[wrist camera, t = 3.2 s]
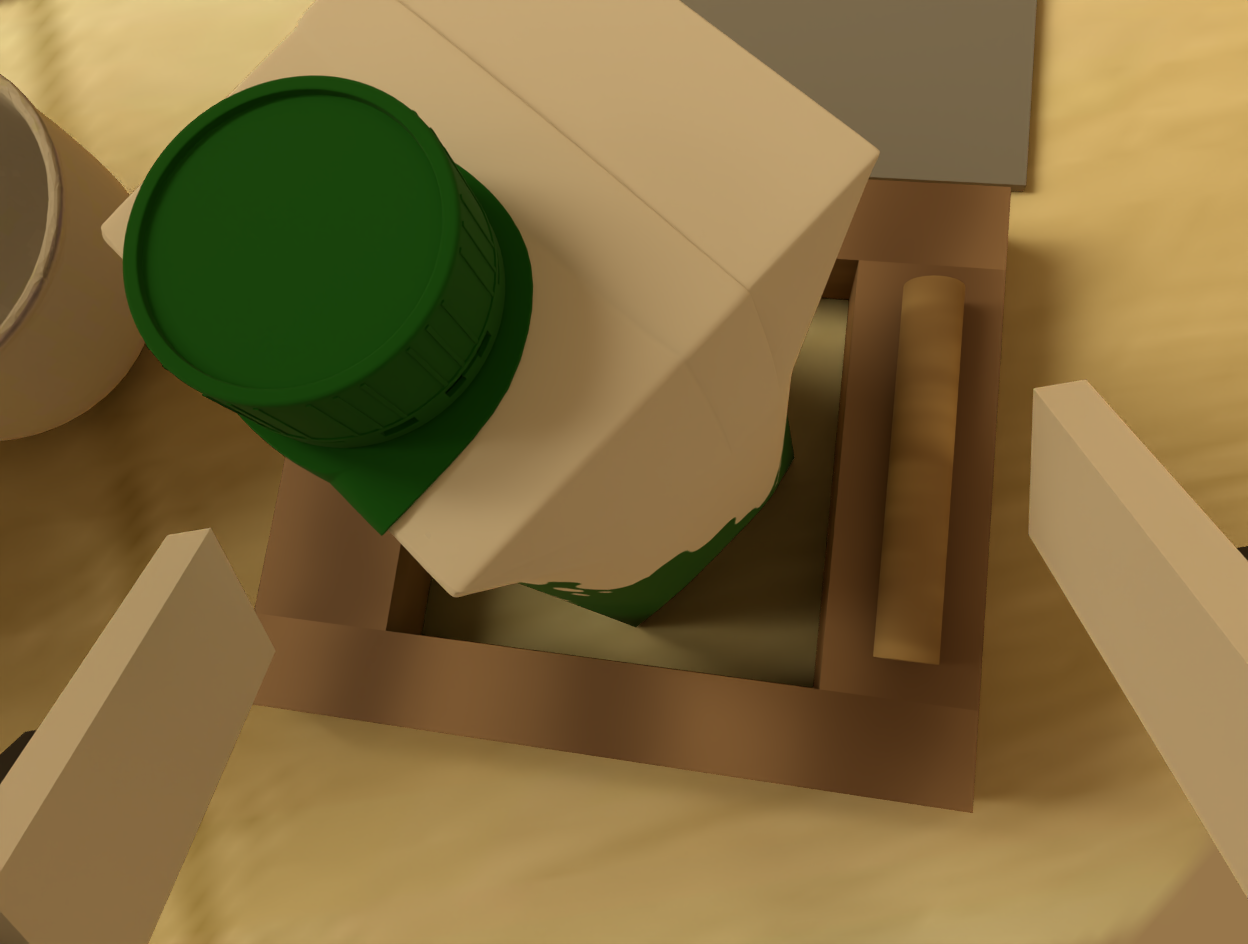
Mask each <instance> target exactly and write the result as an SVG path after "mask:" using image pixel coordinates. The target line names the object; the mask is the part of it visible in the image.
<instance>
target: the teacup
mask: <svg viewBox="0 0 1248 944" xmlns="http://www.w3.org/2000/svg"><path fill="white" fill-rule="evenodd" d="M129 196H130V195H129V194H128V193H127V191H126V190H125V189H124V187H123V186H122V185H121V184H120V182H119V181H118V180H117V179H116V178H115V177H114V176H113V175H112V174H111V173H110V172H109V171H108V170H107V169H106V168H105V167H104V166H103V165H102V164H101V163H100V162H99V161H98V160H97V159H96V158H95V157H94V156H92V155H91V154H90V153H89V152H88V151H87V150H86V149H84V148H83V147H82V146H81V145H80V144H79V143H78V142H76V141H75V140H74V139H73V138H72V137H71V136H69V135H68V134H67V133H66V132H65V131H64V130H62V129H61V128H60V127H59V126H58V125H57V124H55V123H54V122H53V121H51V120H50V119H49V118H48V117H46V116H45V115H44V114H43V113H41V112H40V111H39V110H38V109H36V108H35V106H34V105H33V104H32V103H31V102H30V101H29V100H28V98H27V97H26V96H25V95H24V94H23V93H22V92H21V91H20V90H19V89H18V88H17V87H16V86H15V85H14V84H13V83H12V82H11V81H9V80H8V79H6V78H5V77H4V76H2V75H1V74H0V441H3V440H13V439H19V438H23V437H28V436H32V435H36V434H40V433H43V432H45V431H48V430H51V429H54V428H56V427H59V426H61V425H63V424H66V423H67V422H69V421H71V420H73V419H75V418H76V417H78V416H80V415H82V414H83V413H85V412H86V411H88V410H89V409H90V408H92V407H93V406H94V405H96V404H97V403H98V402H100V401H101V400H102V399H103V398H105V397H106V396H107V395H108V394H109V393H110V392H111V391H112V390H113V389H114V388H115V387H116V386H117V385H118V384H119V383H120V381H121V380H122V379H123V378H124V377H125V376H126V374H127V373H128V371H129V370H130V368H131V367H132V365H133V364H134V362H135V361H136V359H137V358H138V356H139V354H140V352H141V350H142V348H143V346H144V344H145V341H144V340H143V338H142V336H141V335H140V333H139V331H138V329H137V327H136V325H135V323H134V320H133V317H132V315H131V312H130V309H129V306H128V302H127V298H126V293H125V288H124V280H123V259H122V258H121V257H120V256H119V255H118V254H117V253H116V252H115V251H114V250H113V249H112V248H111V247H110V246H109V245H108V244H107V243H106V241H105V240H104V238H103V236H102V230H101V225H102V224H103V223H104V222H105V221H106V220H107V219H108V218H109V217H110V216H111V215H112V214H113V213H114V212H115V211H116V209H117V208H118V207H119V206H120V205H121V204H122V203H123V202H124V201H125V200H126V199H127V198H128V197H129Z"/></svg>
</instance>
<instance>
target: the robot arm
mask: <svg viewBox="0 0 1248 944" xmlns="http://www.w3.org/2000/svg"><path fill="white" fill-rule="evenodd" d="M1028 535H1029V536H1030V538H1031V540H1032V541H1033V543H1034V545H1035V546H1036V548H1037V550H1038V551H1039V553H1040V555H1041V556H1042V558H1043V560H1044V561H1045V563H1046V565H1047V566H1048V568H1049V570H1050V571H1051V573H1052V575H1053V576H1054V578H1055V580H1056V581H1057V583H1058V584H1059V586H1060V588H1061V589H1062V591H1063V593H1064V594H1065V596H1066V598H1067V599H1068V601H1069V603H1070V604H1071V606H1072V608H1073V609H1074V611H1075V613H1076V614H1077V616H1078V618H1079V619H1080V621H1081V623H1082V624H1083V626H1084V628H1085V629H1086V631H1087V633H1088V634H1089V636H1090V638H1091V639H1092V641H1093V643H1094V644H1095V646H1096V648H1097V649H1098V651H1099V653H1100V654H1101V656H1102V658H1103V659H1104V661H1105V663H1106V664H1107V666H1108V668H1109V669H1110V671H1111V673H1112V674H1113V676H1114V678H1115V679H1116V681H1117V683H1118V684H1119V686H1120V688H1121V689H1122V691H1123V693H1124V694H1125V696H1126V698H1127V699H1128V701H1129V702H1130V704H1131V706H1132V707H1133V709H1134V711H1135V712H1136V714H1137V716H1138V717H1139V719H1140V721H1141V722H1142V724H1143V726H1144V727H1145V729H1146V731H1147V732H1148V734H1149V736H1150V737H1151V739H1152V741H1153V742H1154V744H1155V746H1156V747H1157V749H1158V751H1159V752H1160V754H1161V756H1162V757H1163V759H1164V761H1165V762H1166V764H1167V766H1168V767H1169V769H1170V771H1171V772H1172V774H1173V776H1174V777H1175V779H1176V781H1177V782H1178V784H1179V786H1180V787H1181V789H1182V791H1183V792H1184V794H1185V796H1186V797H1187V799H1188V801H1189V802H1190V804H1191V806H1192V807H1193V809H1194V811H1195V812H1196V814H1197V816H1198V817H1199V819H1200V821H1201V822H1202V824H1203V825H1204V827H1205V829H1206V830H1207V832H1208V834H1209V835H1210V837H1211V839H1212V840H1213V842H1214V844H1215V845H1216V847H1217V849H1218V850H1219V852H1220V854H1221V855H1222V857H1223V859H1224V860H1225V862H1226V864H1227V865H1228V867H1229V868H1230V870H1231V872H1232V874H1233V875H1234V877H1235V879H1236V880H1237V882H1238V884H1239V885H1240V887H1241V888H1242V890H1243V892H1244V894H1245V895H1246V897H1247V899H1248V546H1246V547H1240V548H1236V547H1235V546H1234V545H1233V544H1232V543H1231V542H1230V540H1229V539H1228V538H1227V537H1226V536H1225V535H1224V534H1223V533H1222V531H1221V530H1220V529H1219V528H1218V527H1217V526H1216V525H1215V524H1214V522H1213V521H1212V520H1211V519H1210V518H1209V517H1208V516H1207V515H1206V513H1205V512H1204V511H1203V510H1202V509H1201V508H1200V507H1199V506H1198V504H1197V503H1196V502H1195V501H1194V500H1193V499H1192V498H1191V497H1190V495H1189V494H1188V493H1187V492H1186V491H1185V490H1184V489H1183V488H1182V487H1181V485H1180V484H1179V483H1178V482H1177V481H1176V480H1175V479H1174V478H1173V476H1172V475H1171V474H1170V473H1169V472H1168V471H1167V470H1166V469H1165V467H1164V466H1163V465H1162V464H1161V463H1160V462H1159V461H1158V460H1157V458H1156V457H1155V456H1154V455H1153V454H1152V453H1151V452H1150V451H1149V449H1148V448H1147V447H1146V446H1145V445H1144V444H1143V443H1142V442H1141V440H1140V439H1139V438H1138V437H1137V436H1136V435H1135V434H1134V433H1133V432H1132V430H1131V429H1130V428H1129V427H1128V426H1127V425H1126V424H1125V423H1124V421H1123V420H1122V419H1121V418H1120V417H1119V416H1118V415H1117V414H1116V412H1115V411H1114V410H1113V409H1112V408H1111V407H1110V406H1109V405H1108V403H1107V402H1106V401H1105V400H1104V399H1103V398H1102V397H1101V396H1100V394H1099V393H1098V392H1097V391H1096V390H1095V389H1094V388H1093V387H1092V385H1091V384H1090V383H1089V382H1088V381H1087V380H1086V379H1085V380H1079V381H1073V382H1067V383H1061V384H1056V385H1050V386H1044V387H1038V388H1033V413H1032V443H1031V473H1030V502H1029V532H1028ZM274 653H275V649H274V647H273V645H272V643H271V641H270V639H269V637H268V635H267V633H266V631H265V630H264V628H263V626H262V624H261V622H260V620H259V618H258V616H257V614H256V612H255V610H254V609H253V607H252V605H251V603H250V601H249V599H248V597H247V595H246V593H245V591H244V590H243V588H242V586H241V584H240V582H239V580H238V578H237V576H236V574H235V572H234V570H233V569H232V567H231V565H230V563H229V561H228V559H227V557H226V555H225V553H224V551H223V549H222V548H221V546H220V544H219V542H218V540H217V538H216V536H215V534H214V532H213V530H212V529H211V528H206V529H200V530H194V531H188V532H182V533H176V534H170V535H167V536H166V538H165V539H164V541H163V542H162V544H161V545H160V547H159V548H158V550H157V551H156V553H155V554H154V556H153V557H152V559H151V560H150V562H149V563H148V565H147V566H146V568H145V569H144V571H143V572H142V574H141V575H140V576H139V578H138V579H137V581H136V582H135V584H134V585H133V587H132V588H131V590H130V591H129V593H128V594H127V596H126V597H125V599H124V600H123V602H122V603H121V605H120V606H119V608H118V609H117V611H116V612H115V614H114V615H113V617H112V618H111V620H110V621H109V623H108V624H107V626H106V627H105V629H104V630H103V632H102V633H101V635H100V636H99V638H98V639H97V641H96V642H95V644H94V645H93V647H92V648H91V650H90V651H89V653H88V654H87V656H86V657H85V659H84V660H83V662H82V663H81V665H80V666H79V668H78V669H77V671H76V672H75V674H74V675H73V677H72V678H71V680H70V681H69V683H68V684H67V686H66V687H65V688H64V690H63V691H62V693H61V694H60V696H59V697H58V699H57V700H56V702H55V703H54V705H53V706H52V708H51V709H50V711H49V712H48V714H47V715H46V717H45V718H44V720H43V721H42V723H41V724H40V726H39V727H38V729H37V730H34V731H27V732H24V733H23V734H22V735H21V736H20V737H19V738H18V739H17V740H16V741H15V742H14V743H13V744H11V745H10V746H9V747H8V748H7V749H6V750H5V751H4V752H3V753H2V754H1V755H0V944H148V943H149V941H150V938H151V936H152V934H153V931H154V929H155V927H156V924H157V922H158V920H159V918H160V915H161V913H162V911H163V908H164V906H165V904H166V901H167V899H168V897H169V895H170V892H171V890H172V888H173V885H174V883H175V881H176V879H177V876H178V874H179V872H180V869H181V867H182V865H183V862H184V860H185V858H186V856H187V853H188V851H189V849H190V846H191V844H192V842H193V839H194V837H195V835H196V833H197V830H198V828H199V826H200V823H201V821H202V819H203V817H204V814H205V812H206V810H207V807H208V805H209V803H210V800H211V798H212V796H213V794H214V791H215V789H216V787H217V784H218V782H219V780H220V777H221V775H222V773H223V771H224V768H225V766H226V764H227V761H228V759H229V757H230V754H231V752H232V750H233V748H234V745H235V743H236V741H237V738H238V736H239V734H240V732H241V729H242V727H243V725H244V722H245V720H246V718H247V715H248V713H249V711H250V709H251V706H252V704H253V702H254V699H255V697H256V695H257V692H258V690H259V688H260V686H261V683H262V681H263V679H264V676H265V674H266V672H267V669H268V667H269V665H270V663H271V660H272V658H273V656H274Z"/></svg>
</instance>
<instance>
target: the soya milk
mask: <svg viewBox="0 0 1248 944" xmlns="http://www.w3.org/2000/svg"><path fill="white" fill-rule="evenodd" d="M879 154H880V151H879V150H878V149H877V148H876V147H875V146H873V145H872V144H871V143H869V142H868V141H867V140H865V139H864V138H863V137H861V136H860V135H859V134H858V133H856V132H855V131H854V130H852V129H851V128H850V127H848V126H847V125H846V124H844V123H843V122H842V121H840V120H839V119H837V118H836V117H835V116H833V115H832V114H831V113H829V112H828V111H827V110H825V109H824V108H823V107H821V106H820V105H819V104H817V103H816V102H815V101H813V100H812V99H811V98H809V97H808V96H807V95H805V94H804V93H803V92H801V91H800V90H799V89H797V88H796V87H795V86H793V85H792V84H791V83H789V82H788V81H787V80H785V79H784V78H783V77H781V76H780V75H779V74H777V73H776V72H775V71H773V70H772V69H771V68H769V67H768V66H767V65H765V64H764V63H763V62H761V61H760V60H759V59H757V58H756V57H755V56H753V55H752V54H751V53H749V52H748V51H747V50H745V49H744V48H743V47H741V46H740V45H739V44H737V43H736V42H735V41H733V40H732V39H731V38H729V37H728V36H727V35H725V34H724V33H723V32H721V31H720V30H719V29H717V28H716V27H715V26H713V25H712V24H711V23H709V22H708V21H706V20H705V19H704V18H702V17H701V16H700V15H698V14H697V13H696V12H694V11H693V10H692V9H690V8H689V7H688V6H686V5H685V4H684V3H682V2H681V1H680V0H316V1H315V2H314V3H313V4H312V5H311V6H310V7H309V8H308V9H307V10H306V11H305V12H304V13H303V15H302V16H301V18H300V19H299V21H298V24H297V26H296V27H295V29H294V30H293V31H292V32H291V33H290V34H289V35H288V36H287V37H286V38H285V39H284V40H283V41H282V42H281V43H280V44H279V45H278V46H277V47H276V48H275V49H274V50H273V51H272V52H271V53H270V54H269V55H268V56H267V57H266V58H265V59H264V60H263V61H262V62H261V63H260V64H259V65H258V66H257V67H256V68H255V69H254V70H253V71H252V72H251V73H250V74H249V75H248V76H247V77H246V78H245V79H244V80H243V81H242V82H241V83H240V84H239V85H238V86H237V87H236V88H235V89H234V90H233V91H232V92H231V93H230V94H229V95H228V96H227V97H226V98H225V99H224V100H222V101H220V102H219V103H217V104H216V105H214V106H212V107H211V108H209V109H208V110H206V111H205V112H204V113H202V114H201V115H199V116H198V117H197V118H196V119H195V120H193V121H192V122H191V123H190V124H189V125H187V126H186V127H185V128H184V129H183V130H182V131H181V132H180V133H179V134H178V135H177V136H176V137H175V138H174V139H173V140H172V141H171V142H170V144H169V145H168V146H167V147H166V148H165V150H164V151H163V152H162V153H161V155H160V156H159V158H158V159H157V160H156V162H155V163H154V165H153V166H152V168H151V169H150V171H149V173H148V174H147V176H146V178H145V180H144V182H143V183H142V184H141V185H140V186H139V187H138V188H137V189H136V190H135V191H134V192H133V193H132V194H131V195H130V196H129V197H128V198H127V199H126V200H125V201H124V202H123V203H122V204H121V205H120V206H119V207H118V208H117V209H116V211H115V212H114V213H113V214H112V215H111V216H110V217H109V218H108V219H107V220H106V221H105V222H104V223H103V224H102V225H101V230H102V236H103V238H104V240H105V241H106V243H107V244H108V245H109V246H110V247H111V248H112V249H113V250H114V251H115V252H116V253H117V254H118V255H119V256H120V257H121V258H122V259H123V280H124V288H125V293H126V298H127V302H128V306H129V309H130V312H131V315H132V317H133V320H134V323H135V325H136V327H137V329H138V331H139V333H140V335H141V336H142V338H143V340H144V341H145V343H146V345H147V347H148V349H149V350H151V352H152V353H153V354H154V355H155V357H156V358H157V359H158V360H159V361H160V362H161V363H162V364H163V365H162V366H163V367H164V368H165V369H166V370H168V371H170V372H171V373H172V374H174V375H175V376H176V377H177V378H179V379H180V380H181V381H183V382H184V383H186V384H187V385H189V386H190V387H192V388H194V389H195V390H197V391H199V392H201V393H203V394H202V395H203V396H205V397H206V398H208V399H210V400H212V401H214V402H216V403H218V404H220V405H222V406H224V407H226V408H228V409H230V410H232V411H234V412H236V413H237V414H238V415H239V416H240V417H241V418H242V419H243V420H244V421H245V422H246V423H247V424H248V425H249V427H250V428H251V429H252V430H254V431H255V432H256V433H257V434H258V435H259V436H260V437H261V438H262V439H263V440H265V441H266V442H267V443H268V444H269V445H271V446H272V447H273V448H274V449H275V450H277V451H278V452H279V453H281V454H282V455H283V456H285V457H286V458H288V459H289V460H291V461H292V462H294V463H295V464H297V465H298V466H300V467H302V468H304V469H305V470H307V471H309V472H311V473H312V474H314V475H316V476H318V477H319V478H321V479H323V480H325V481H327V482H329V483H330V484H331V485H332V486H333V487H334V488H335V489H336V490H337V491H338V492H339V493H340V494H341V495H342V496H343V497H344V498H345V499H346V500H347V501H348V503H349V504H350V505H351V506H352V507H353V508H354V509H355V510H356V511H357V512H358V513H359V514H360V515H361V516H362V517H363V518H364V519H365V520H366V521H367V522H368V523H369V524H370V525H371V526H372V527H373V528H374V529H375V530H376V531H377V532H378V533H379V534H380V535H381V536H382V535H384V534H385V533H386V532H387V530H388V531H389V532H390V533H391V534H392V535H393V536H394V537H395V538H396V539H397V540H398V541H399V542H400V543H401V544H402V545H403V546H404V547H405V548H406V550H407V551H408V552H409V553H410V554H411V555H412V556H413V557H414V558H415V559H416V560H417V561H418V562H419V563H420V564H421V566H422V567H423V568H424V569H425V570H426V571H427V572H428V573H429V574H430V575H431V576H432V577H433V578H434V579H435V580H436V581H437V582H438V583H439V584H440V585H441V586H442V587H443V588H444V589H445V590H446V591H447V592H448V593H449V594H450V595H451V596H453V597H461V596H465V595H469V594H473V593H477V592H481V591H485V590H490V589H494V588H498V587H502V586H506V585H511V584H515V583H519V584H522V585H525V586H527V587H530V588H533V589H536V590H538V591H541V592H544V593H546V594H549V595H552V596H554V597H557V598H559V599H562V600H565V601H567V602H570V603H573V604H575V605H578V606H581V607H583V608H586V609H589V610H592V611H594V612H597V613H600V614H602V615H605V616H608V617H610V618H613V619H616V620H618V621H621V622H624V623H626V624H629V625H631V626H634V627H637V626H638V625H640V624H641V623H642V622H643V621H644V620H646V619H647V618H648V617H650V616H651V615H652V614H653V613H655V612H656V611H657V610H658V609H660V608H661V607H662V606H663V605H664V604H666V603H667V602H668V601H669V600H670V599H671V598H673V597H674V596H675V595H676V594H677V593H678V592H679V591H681V590H682V589H683V588H684V587H685V586H686V585H687V584H688V583H689V582H690V581H691V580H692V579H693V578H695V577H696V576H697V575H698V574H699V573H700V572H701V571H702V570H703V569H704V568H705V567H706V566H707V565H708V564H709V563H710V562H711V561H712V560H713V559H714V558H715V557H716V556H717V555H718V554H719V553H720V552H721V551H722V550H723V549H724V547H725V546H726V545H727V544H728V543H729V542H730V541H731V540H732V539H733V538H734V537H735V536H736V535H737V534H738V533H739V532H740V531H741V530H742V529H743V528H744V527H745V526H746V525H747V524H748V523H749V522H750V521H751V520H752V518H753V517H754V516H755V515H756V514H757V513H758V512H759V511H760V510H761V509H762V507H763V506H764V505H765V504H766V502H767V501H768V500H769V499H770V497H771V496H772V495H773V493H774V491H775V490H776V488H777V486H778V484H779V483H780V481H781V479H782V478H783V476H784V474H785V473H786V471H787V469H788V468H789V466H790V464H791V463H792V461H793V460H794V458H795V457H794V452H793V446H792V440H791V434H790V428H789V422H788V416H787V408H788V400H789V391H790V383H791V375H792V371H793V368H794V366H795V363H796V360H797V358H798V355H799V353H800V350H801V347H802V345H803V342H804V340H805V337H806V334H807V332H808V329H809V327H810V324H811V322H812V319H813V317H814V314H815V312H816V309H817V306H818V304H819V301H820V299H821V296H822V294H823V291H824V289H825V286H826V284H827V281H828V278H829V276H830V273H831V271H832V268H833V266H834V263H835V261H836V258H837V256H838V253H839V251H840V248H841V246H842V243H843V241H844V238H845V236H846V233H847V231H848V228H849V226H850V223H851V221H852V218H853V216H854V213H855V211H856V208H857V206H858V203H859V201H860V198H861V196H862V193H863V191H864V188H865V186H866V183H867V181H868V179H869V176H870V174H871V171H872V169H873V167H874V165H875V163H876V161H877V159H878V157H879Z"/></svg>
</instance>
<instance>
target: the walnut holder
mask: <svg viewBox="0 0 1248 944" xmlns="http://www.w3.org/2000/svg"><path fill="white" fill-rule="evenodd" d="M1010 196H1011V187H1000V186H981V185H963V184H944V183H925V182H907V181H888V180H869V179H868V181H867V183H866V186H865V188H864V191H863V193H862V196H861V198H860V201H859V203H858V206H857V208H856V211H855V213H854V216H853V218H852V221H851V223H850V226H849V228H848V231H847V233H846V236H845V238H844V241H843V243H842V246H841V248H840V251H839V253H838V256H837V258H836V261H835V263H834V266H833V268H832V271H831V273H830V276H829V278H828V281H827V284H826V286H825V289H824V291H823V294H822V296H821V298H832V299H846V300H849V306H848V317H847V328H846V338H845V349H844V360H843V371H842V382H841V392H840V403H839V414H838V425H837V435H836V446H835V457H834V468H833V479H832V489H831V500H830V511H829V522H828V532H827V543H826V554H825V565H824V576H823V586H822V597H821V608H820V619H819V629H818V640H817V651H816V662H815V673H814V683H813V688H811V687H804V686H797V685H789V684H782V683H774V682H767V681H760V680H752V679H745V678H737V677H730V676H723V675H715V674H708V673H700V672H693V671H685V670H678V669H671V668H663V667H656V666H648V665H641V664H634V663H626V662H619V661H611V660H604V659H597V658H589V657H582V656H574V655H567V654H559V653H552V652H545V651H537V650H530V649H522V648H515V647H508V646H500V645H493V644H485V643H478V642H470V641H463V640H456V639H448V638H441V637H433V636H426V635H422V629H423V623H424V618H425V612H426V606H427V600H428V594H429V588H430V582H431V575H430V574H429V573H428V572H427V571H426V570H425V569H424V568H423V567H422V566H421V564H420V563H419V562H418V561H417V560H416V559H415V558H414V557H413V556H412V555H411V554H410V553H409V552H408V551H407V550H406V548H405V547H404V546H403V545H402V544H401V543H400V542H399V541H398V540H397V539H396V538H395V537H394V536H393V535H392V534H391V533H390V532H389V531H388V530H387V532H386V533H385V534H384V535H382V536H381V535H380V534H379V533H378V532H377V531H376V530H375V529H374V528H373V527H372V526H371V525H370V524H369V523H368V522H367V521H366V520H365V519H364V518H363V517H362V516H361V515H360V514H359V513H358V512H357V511H356V510H355V509H354V508H353V507H352V506H351V505H350V504H349V503H348V501H347V500H346V499H345V498H344V497H343V496H342V495H341V494H340V493H339V492H338V491H337V490H336V489H335V488H334V487H333V486H332V485H331V484H330V483H329V482H327V481H325V480H323V479H321V478H319V477H318V476H316V475H314V474H312V473H311V472H309V471H307V470H305V469H304V468H302V467H300V466H298V465H297V464H295V463H294V462H292V461H291V460H289V459H288V458H286V457H285V461H284V466H283V471H282V476H281V481H280V486H279V491H278V496H277V501H276V506H275V511H274V516H273V521H272V526H271V531H270V536H269V541H268V546H267V551H266V556H265V561H264V566H263V570H262V575H261V580H260V585H259V590H258V595H257V600H256V605H255V612H256V614H257V616H258V618H259V620H260V622H261V624H262V626H263V628H264V630H265V631H266V633H267V635H268V637H269V639H270V641H271V643H272V645H273V647H274V649H275V653H274V656H273V658H272V660H271V663H270V665H269V667H268V669H267V672H266V674H265V676H264V679H263V681H262V683H261V686H260V688H259V690H258V692H257V695H256V697H255V699H254V702H253V704H254V705H261V706H268V707H274V708H281V709H287V710H294V711H301V712H307V713H314V714H321V715H327V716H334V717H340V718H347V719H354V720H360V721H367V722H374V723H380V724H387V725H393V726H400V727H407V728H413V729H420V730H427V731H433V732H440V733H446V734H453V735H460V736H466V737H473V738H479V739H486V740H493V741H499V742H506V743H513V744H519V745H526V746H532V747H539V748H546V749H552V750H559V751H566V752H572V753H579V754H585V755H592V756H599V757H605V758H612V759H619V760H625V761H632V762H638V763H645V764H652V765H658V766H665V767H672V768H678V769H685V770H691V771H698V772H705V773H711V774H718V775H725V776H731V777H738V778H744V779H751V780H758V781H764V782H771V783H777V784H784V785H791V786H797V787H804V788H811V789H817V790H824V791H830V792H837V793H844V794H850V795H857V796H864V797H870V798H877V799H883V800H890V801H897V802H903V803H910V804H917V805H923V806H930V807H936V808H943V809H950V810H956V811H963V812H970V813H973V799H974V783H975V767H976V750H977V734H978V718H979V701H980V685H981V669H982V652H983V636H984V620H985V604H986V587H987V571H988V555H989V538H990V522H991V506H992V489H993V473H994V457H995V441H996V424H997V408H998V392H999V375H1000V359H1001V343H1002V326H1003V310H1004V294H1005V278H1006V261H1007V245H1008V229H1009V212H1010Z"/></svg>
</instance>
